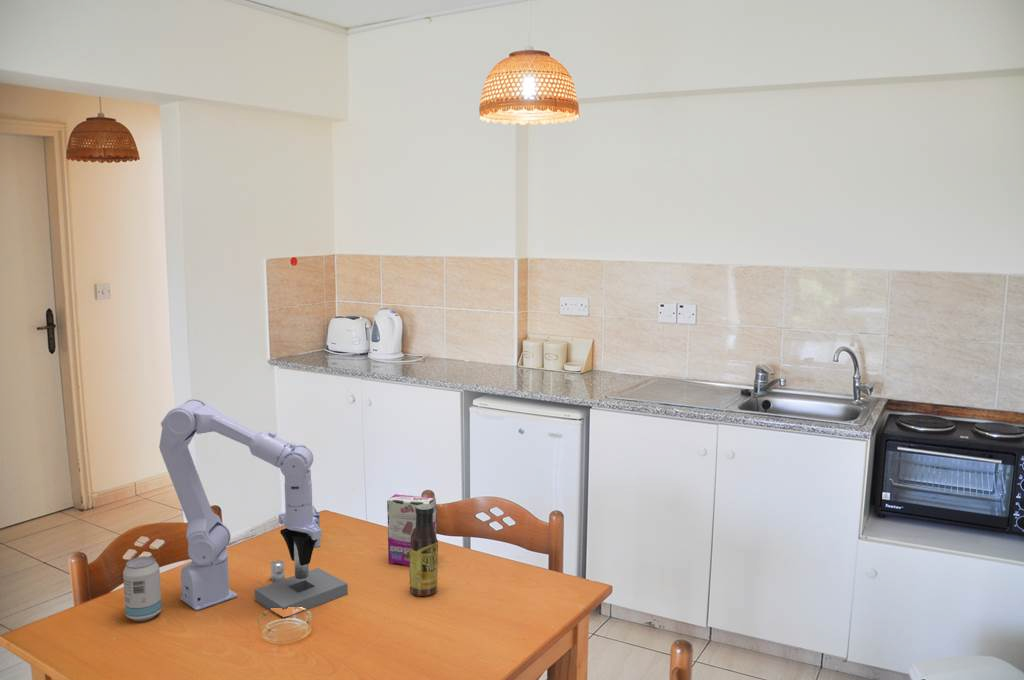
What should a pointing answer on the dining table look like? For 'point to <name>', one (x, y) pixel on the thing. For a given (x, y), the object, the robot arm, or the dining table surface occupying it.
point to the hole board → (302, 591)
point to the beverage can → (142, 588)
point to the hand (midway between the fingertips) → (300, 561)
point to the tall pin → (299, 566)
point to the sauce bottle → (423, 553)
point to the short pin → (277, 571)
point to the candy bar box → (403, 525)
